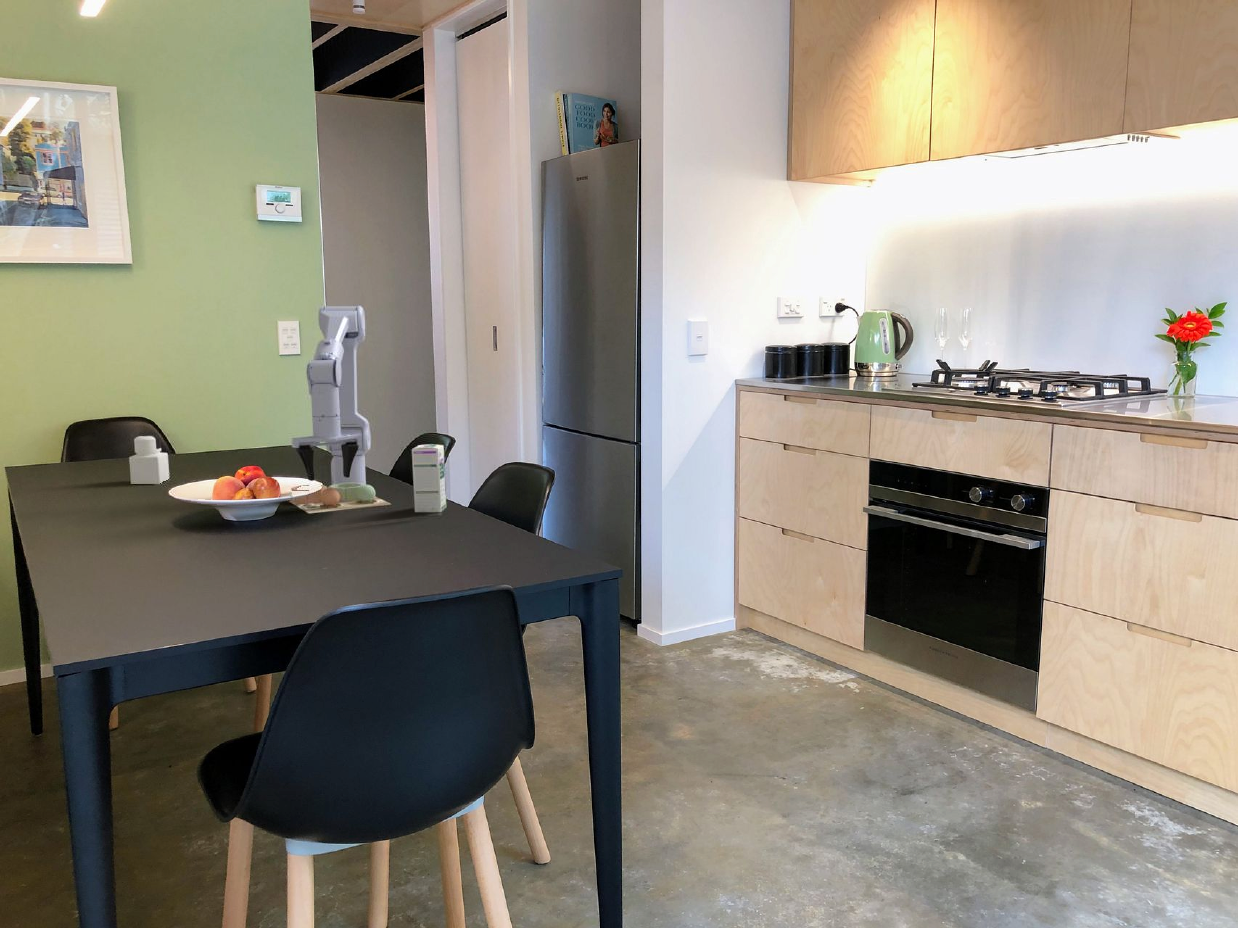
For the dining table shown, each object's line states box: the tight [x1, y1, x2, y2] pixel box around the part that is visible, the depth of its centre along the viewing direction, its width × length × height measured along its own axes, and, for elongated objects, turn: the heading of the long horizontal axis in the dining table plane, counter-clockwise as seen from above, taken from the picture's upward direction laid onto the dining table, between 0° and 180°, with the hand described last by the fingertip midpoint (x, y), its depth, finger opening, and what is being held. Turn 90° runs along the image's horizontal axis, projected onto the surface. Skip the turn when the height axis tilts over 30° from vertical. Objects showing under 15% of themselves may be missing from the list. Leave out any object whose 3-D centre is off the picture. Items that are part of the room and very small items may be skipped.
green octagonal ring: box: [329, 483, 364, 502], centre depth 220 cm, size 7×7×3 cm
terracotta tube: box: [290, 484, 328, 504], centre depth 217 cm, size 7×7×3 cm
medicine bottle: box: [128, 434, 170, 485], centre depth 246 cm, size 7×7×12 cm
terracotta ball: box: [320, 487, 340, 506], centre depth 210 cm, size 4×4×4 cm
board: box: [288, 496, 392, 514], centre depth 216 cm, size 18×18×1 cm
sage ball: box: [357, 484, 376, 502], centre depth 215 cm, size 4×4×4 cm
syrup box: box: [411, 443, 447, 516], centre depth 206 cm, size 6×6×14 cm
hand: (329, 478), depth 210 cm, fingers open, 7 cm apart
